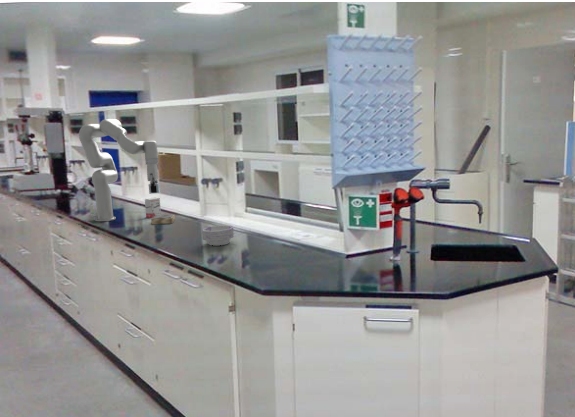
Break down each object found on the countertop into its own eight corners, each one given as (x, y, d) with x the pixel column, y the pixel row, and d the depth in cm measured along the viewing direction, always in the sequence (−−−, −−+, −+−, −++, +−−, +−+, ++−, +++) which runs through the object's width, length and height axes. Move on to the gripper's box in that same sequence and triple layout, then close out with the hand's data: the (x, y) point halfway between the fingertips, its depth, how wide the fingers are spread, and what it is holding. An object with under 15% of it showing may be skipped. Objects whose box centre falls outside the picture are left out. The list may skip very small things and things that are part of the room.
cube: (149, 193, 332) (148, 184, 331) (151, 192, 337) (150, 183, 337) (158, 193, 332) (157, 183, 331) (160, 191, 338) (159, 182, 337)
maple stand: (151, 224, 331) (151, 218, 330) (155, 220, 342) (155, 215, 342) (172, 223, 331) (171, 217, 331) (175, 219, 343) (174, 214, 342)
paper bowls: (203, 241, 279) (203, 225, 278) (234, 239, 280) (233, 224, 279) (201, 248, 264) (200, 231, 263) (233, 246, 265) (233, 230, 264)
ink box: (150, 218, 352) (149, 199, 350) (145, 217, 355) (144, 198, 353) (161, 215, 359) (160, 197, 357) (156, 215, 362) (155, 197, 360)
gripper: (148, 161, 340) (151, 190, 343) (142, 163, 323) (145, 194, 326) (160, 160, 341) (163, 189, 343) (155, 162, 324) (158, 193, 326)
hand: (154, 191), depth 335 cm, fingers closed on cube, 5 cm apart
